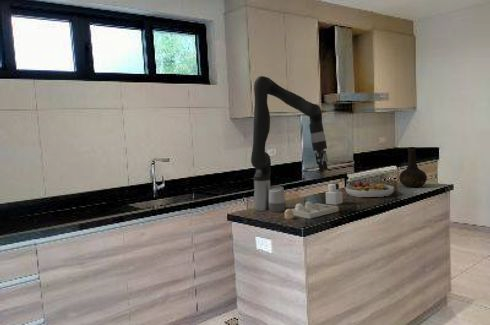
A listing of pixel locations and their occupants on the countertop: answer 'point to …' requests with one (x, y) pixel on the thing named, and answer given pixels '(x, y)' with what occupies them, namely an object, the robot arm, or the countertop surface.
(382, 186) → the bowl
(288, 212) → the tan egg
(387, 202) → the countertop surface
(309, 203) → the white egg middle
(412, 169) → the dark brown vase
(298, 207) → the white egg near
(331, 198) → the medicine bottle
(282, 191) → the smart speaker
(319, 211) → the egg carton
